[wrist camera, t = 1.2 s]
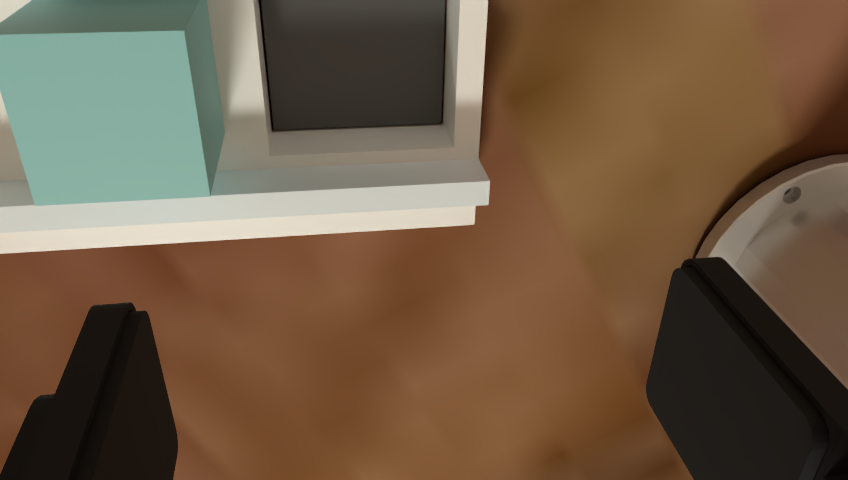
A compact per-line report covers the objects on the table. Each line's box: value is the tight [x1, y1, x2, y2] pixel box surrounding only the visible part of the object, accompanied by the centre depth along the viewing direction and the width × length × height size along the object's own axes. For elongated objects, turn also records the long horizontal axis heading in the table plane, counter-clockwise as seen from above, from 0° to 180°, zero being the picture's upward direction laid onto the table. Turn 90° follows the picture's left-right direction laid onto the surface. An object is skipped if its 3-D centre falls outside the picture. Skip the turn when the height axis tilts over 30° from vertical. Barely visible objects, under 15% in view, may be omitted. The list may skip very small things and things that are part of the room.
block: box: [0, 0, 225, 206], centre depth 22 cm, size 5×5×5 cm
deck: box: [0, 0, 490, 254], centre depth 24 cm, size 28×14×4 cm, turn 89°
